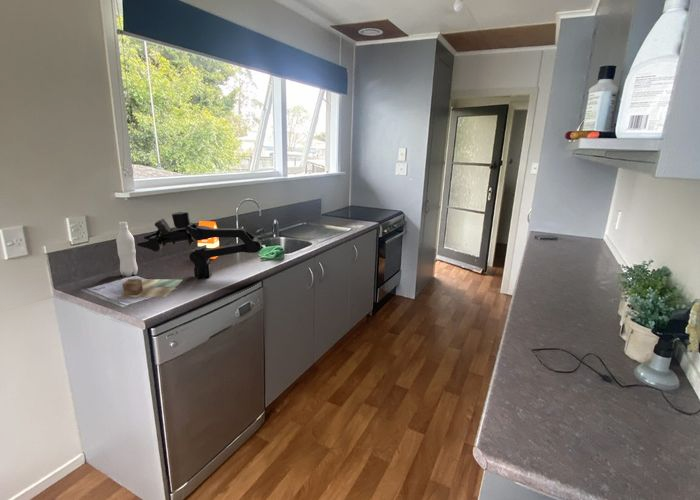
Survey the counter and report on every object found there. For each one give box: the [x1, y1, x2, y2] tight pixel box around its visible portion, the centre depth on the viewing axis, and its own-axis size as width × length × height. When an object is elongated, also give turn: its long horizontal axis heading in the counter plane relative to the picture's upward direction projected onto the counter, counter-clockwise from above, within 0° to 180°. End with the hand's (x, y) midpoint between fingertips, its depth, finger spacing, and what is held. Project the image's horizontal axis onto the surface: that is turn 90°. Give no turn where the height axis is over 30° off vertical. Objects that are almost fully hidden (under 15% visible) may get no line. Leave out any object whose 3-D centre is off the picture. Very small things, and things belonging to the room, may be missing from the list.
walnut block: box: [122, 278, 143, 295], centre depth 150 cm, size 5×5×5 cm
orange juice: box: [197, 220, 220, 260], centre depth 203 cm, size 8×9×20 cm
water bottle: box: [115, 221, 139, 277], centre depth 170 cm, size 7×7×25 cm
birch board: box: [118, 278, 183, 298], centre depth 157 cm, size 18×20×1 cm
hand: (140, 241), depth 166 cm, fingers open, 9 cm apart
